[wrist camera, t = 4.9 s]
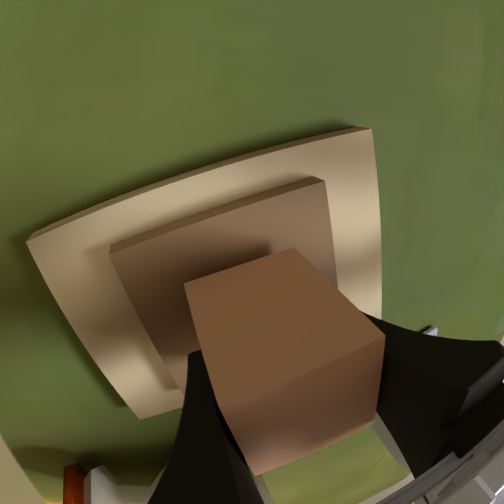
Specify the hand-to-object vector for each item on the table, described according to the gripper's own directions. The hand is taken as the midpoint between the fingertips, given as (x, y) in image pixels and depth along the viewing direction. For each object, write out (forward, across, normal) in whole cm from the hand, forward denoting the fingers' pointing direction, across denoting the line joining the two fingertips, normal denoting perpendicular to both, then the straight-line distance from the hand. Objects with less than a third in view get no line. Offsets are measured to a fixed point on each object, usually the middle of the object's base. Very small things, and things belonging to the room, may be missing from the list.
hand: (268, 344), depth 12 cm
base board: (+5, 0, 0) cm, 5 cm away
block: (+2, 0, 0) cm, 2 cm away
